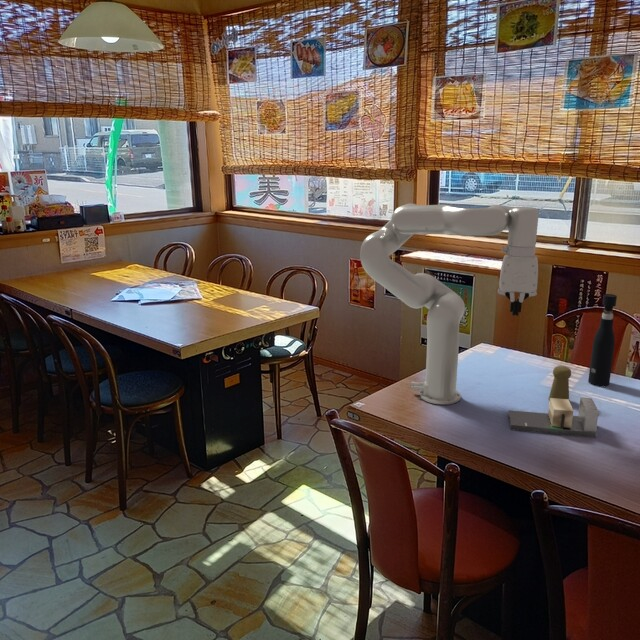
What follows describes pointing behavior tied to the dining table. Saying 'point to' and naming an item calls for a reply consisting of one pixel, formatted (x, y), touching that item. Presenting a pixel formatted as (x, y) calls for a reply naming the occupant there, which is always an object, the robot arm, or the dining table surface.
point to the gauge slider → (560, 412)
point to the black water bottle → (603, 345)
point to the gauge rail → (542, 424)
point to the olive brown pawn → (560, 383)
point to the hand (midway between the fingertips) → (515, 314)
